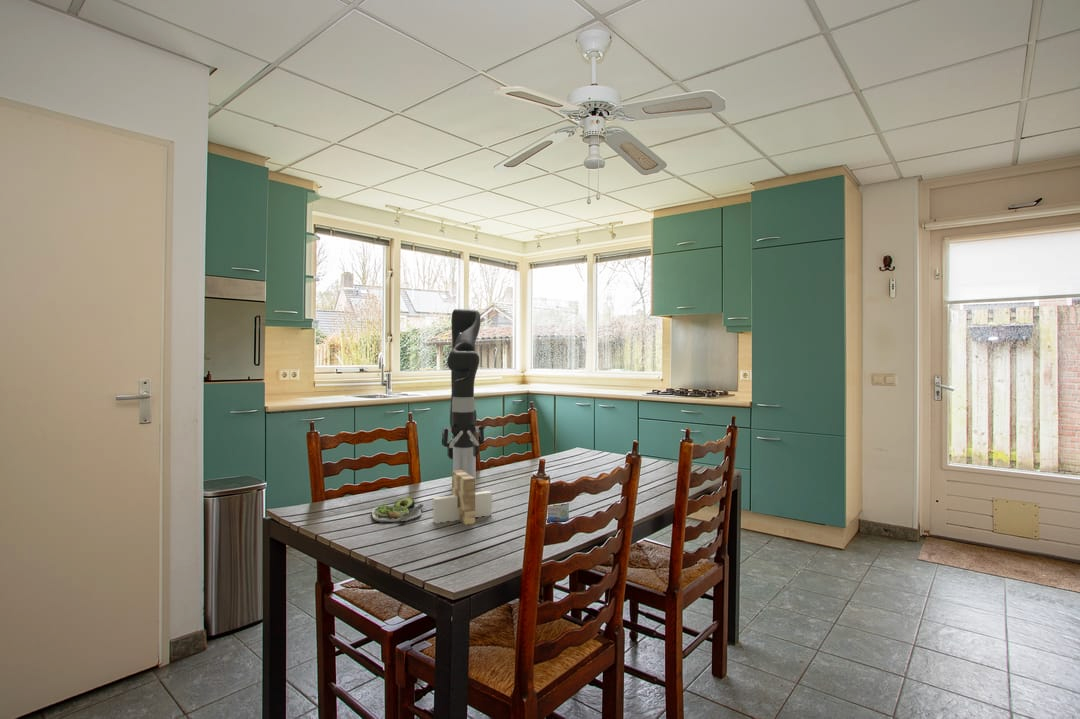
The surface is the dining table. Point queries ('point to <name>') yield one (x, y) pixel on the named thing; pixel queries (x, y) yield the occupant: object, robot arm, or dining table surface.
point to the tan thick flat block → (464, 495)
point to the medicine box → (558, 513)
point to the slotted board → (450, 511)
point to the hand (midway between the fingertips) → (463, 457)
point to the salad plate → (398, 511)
